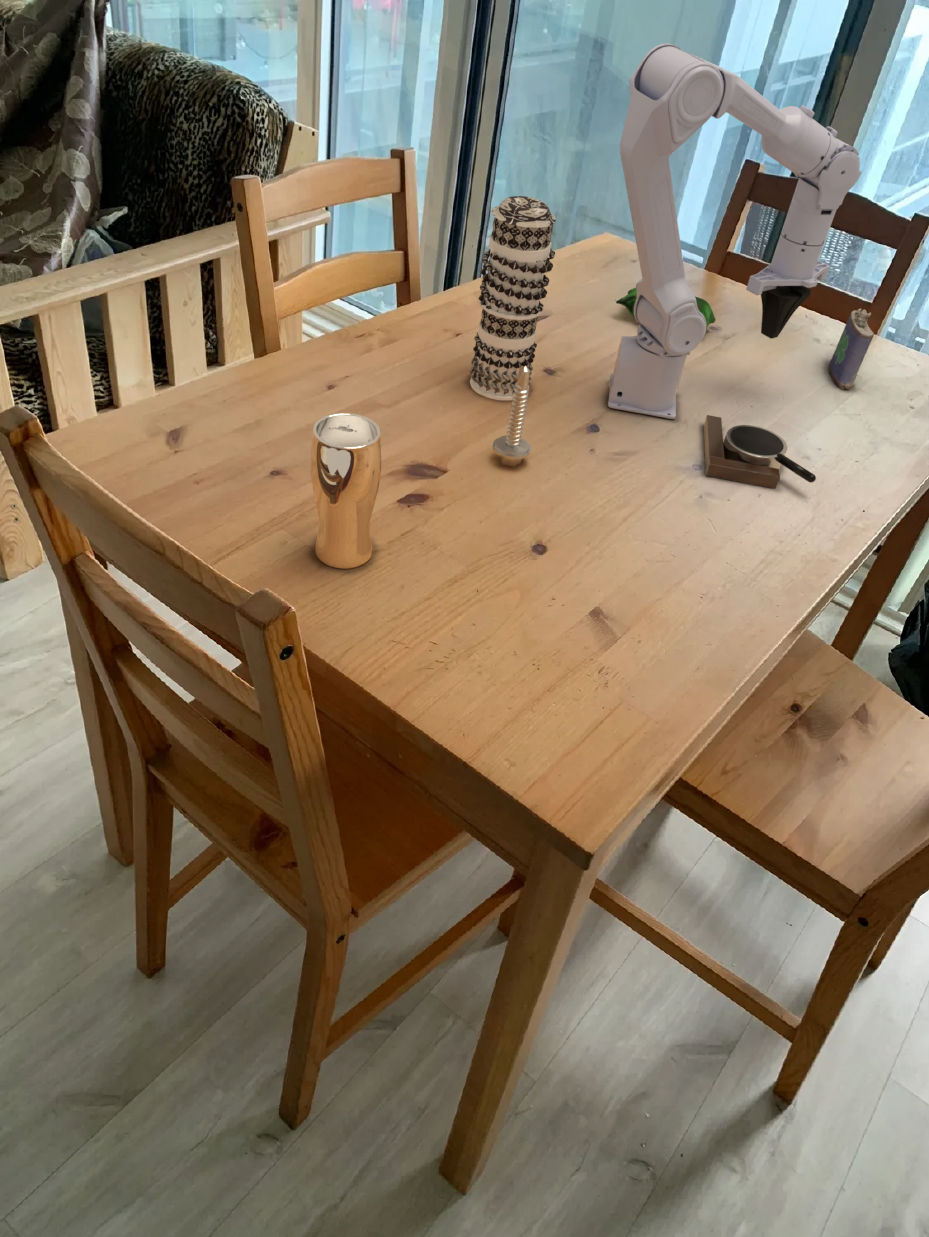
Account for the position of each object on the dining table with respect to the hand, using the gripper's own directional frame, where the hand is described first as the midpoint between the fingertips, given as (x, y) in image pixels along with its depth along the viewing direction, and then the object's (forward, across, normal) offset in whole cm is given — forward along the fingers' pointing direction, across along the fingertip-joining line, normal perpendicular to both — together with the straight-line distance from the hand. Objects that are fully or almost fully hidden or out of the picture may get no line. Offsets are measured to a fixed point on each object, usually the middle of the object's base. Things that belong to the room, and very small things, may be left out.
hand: (769, 335), depth 131 cm
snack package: (+10, +5, +23) cm, 26 cm away
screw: (+10, -44, +1) cm, 45 cm away
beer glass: (+10, -71, -5) cm, 72 cm away
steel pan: (+9, -14, -16) cm, 23 cm away
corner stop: (+9, -15, -11) cm, 21 cm away
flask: (+10, +19, -2) cm, 21 cm away
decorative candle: (+10, -33, +18) cm, 39 cm away
